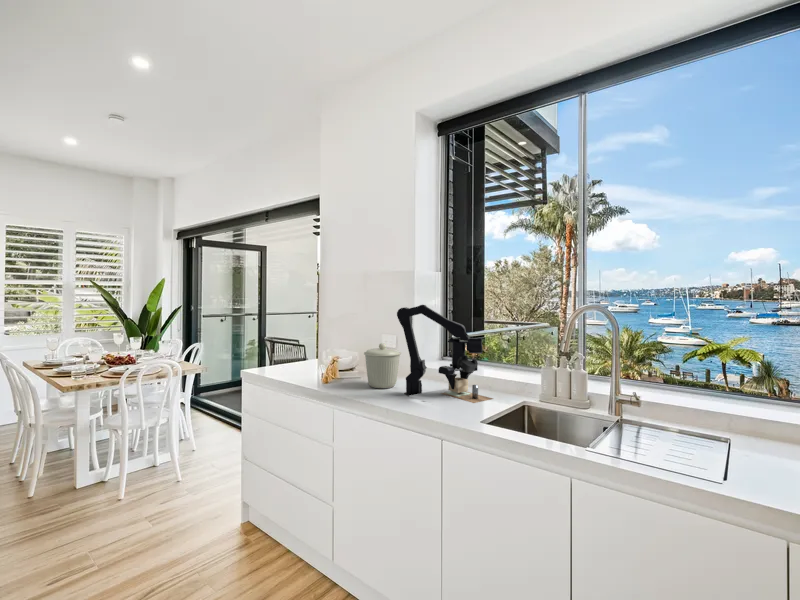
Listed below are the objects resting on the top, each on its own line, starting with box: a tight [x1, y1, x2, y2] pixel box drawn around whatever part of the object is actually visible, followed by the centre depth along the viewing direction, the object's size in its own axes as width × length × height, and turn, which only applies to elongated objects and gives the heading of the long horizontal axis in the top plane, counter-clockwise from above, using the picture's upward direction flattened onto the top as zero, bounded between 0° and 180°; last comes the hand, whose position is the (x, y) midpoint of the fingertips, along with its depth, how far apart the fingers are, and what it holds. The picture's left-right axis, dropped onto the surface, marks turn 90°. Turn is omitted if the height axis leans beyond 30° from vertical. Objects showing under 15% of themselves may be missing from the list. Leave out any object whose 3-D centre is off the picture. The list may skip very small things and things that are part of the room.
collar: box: [448, 376, 469, 393], centre depth 185 cm, size 6×6×5 cm
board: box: [440, 391, 494, 404], centre depth 181 cm, size 12×20×2 cm, turn 37°
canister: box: [363, 342, 402, 389], centre depth 205 cm, size 18×18×21 cm
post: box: [471, 384, 479, 399], centre depth 177 cm, size 2×2×6 cm
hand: (458, 388), depth 185 cm, fingers closed on collar, 6 cm apart
